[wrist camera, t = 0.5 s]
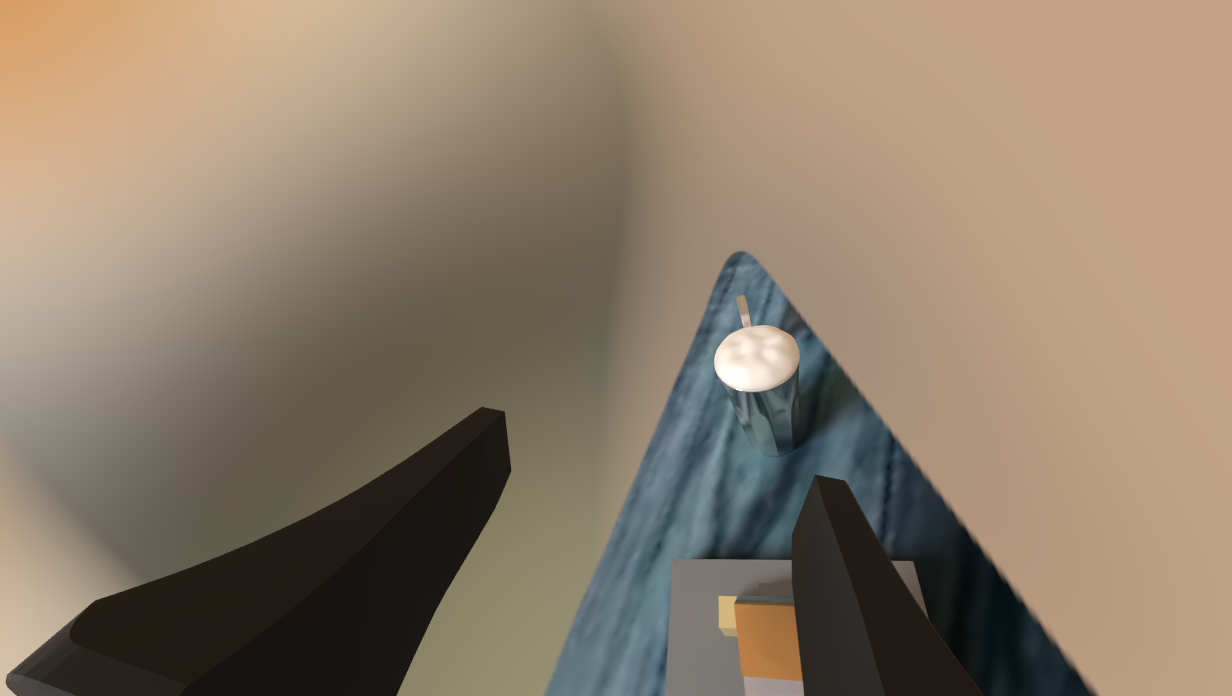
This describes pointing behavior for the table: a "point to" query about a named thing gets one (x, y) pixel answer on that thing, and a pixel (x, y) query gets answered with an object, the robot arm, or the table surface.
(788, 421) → the milkshake
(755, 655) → the latch bar
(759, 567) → the base board
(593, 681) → the table surface
